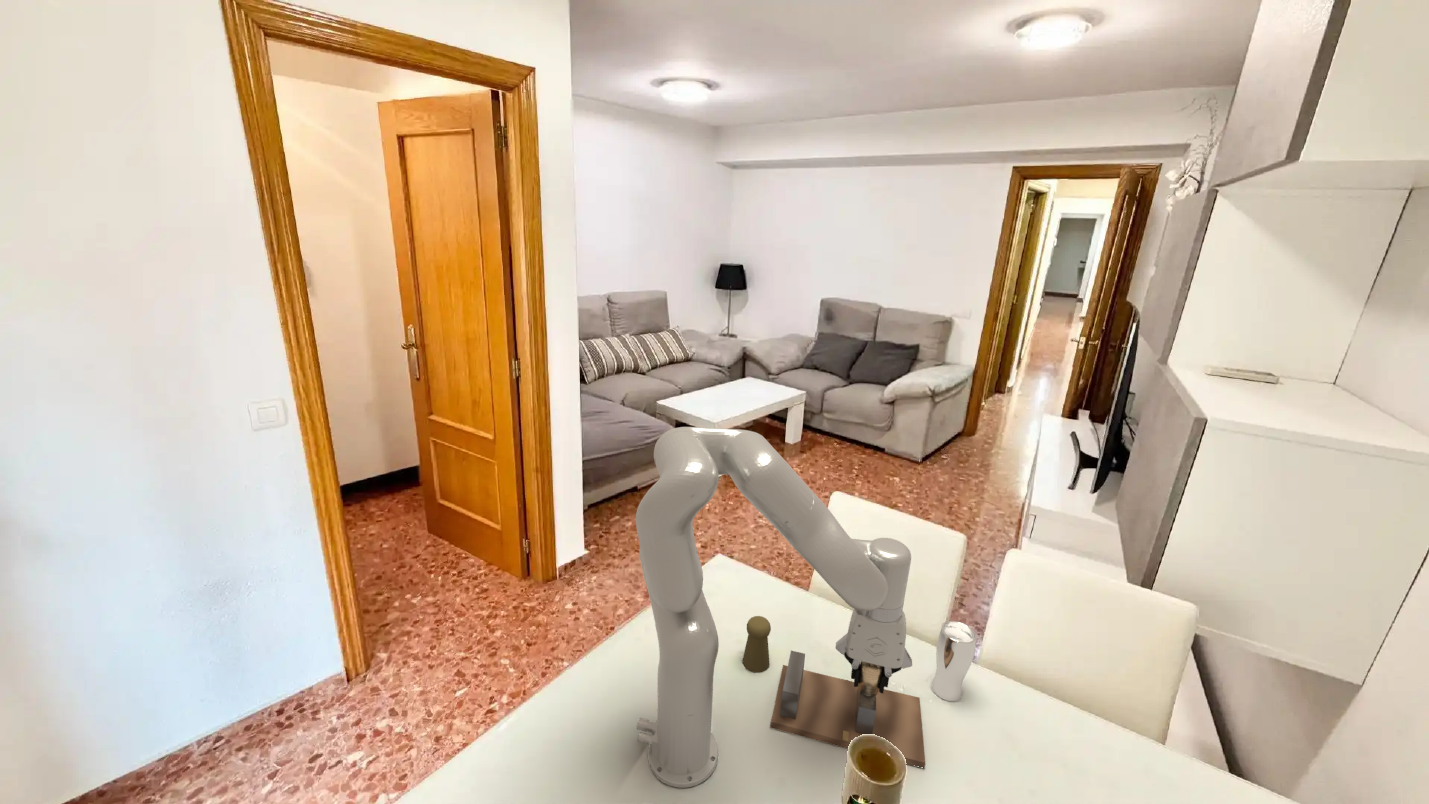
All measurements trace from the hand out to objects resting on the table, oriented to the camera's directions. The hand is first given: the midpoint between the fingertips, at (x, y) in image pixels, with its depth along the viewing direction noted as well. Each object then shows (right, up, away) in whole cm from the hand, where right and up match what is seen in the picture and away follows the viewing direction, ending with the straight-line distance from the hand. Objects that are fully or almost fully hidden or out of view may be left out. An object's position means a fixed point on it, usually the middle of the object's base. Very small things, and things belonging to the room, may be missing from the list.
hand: (868, 683), depth 105 cm
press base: (-3, -8, +3) cm, 9 cm away
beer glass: (+19, -7, +10) cm, 23 cm away
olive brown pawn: (-20, -4, +16) cm, 26 cm away
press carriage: (0, -7, +2) cm, 7 cm away
